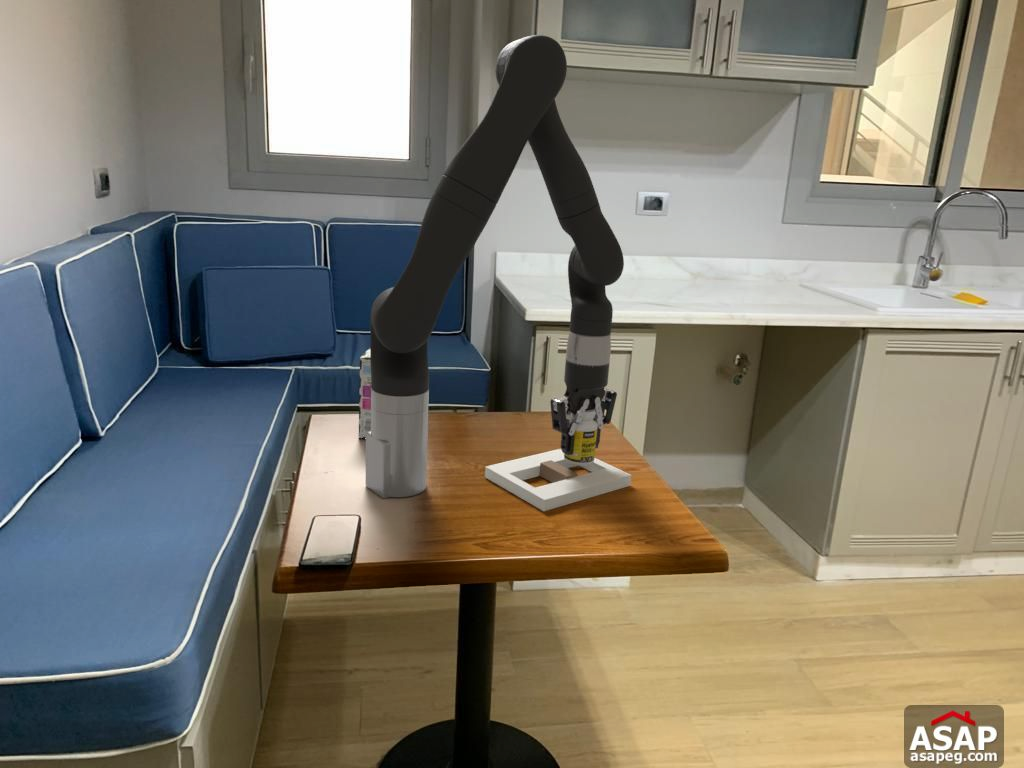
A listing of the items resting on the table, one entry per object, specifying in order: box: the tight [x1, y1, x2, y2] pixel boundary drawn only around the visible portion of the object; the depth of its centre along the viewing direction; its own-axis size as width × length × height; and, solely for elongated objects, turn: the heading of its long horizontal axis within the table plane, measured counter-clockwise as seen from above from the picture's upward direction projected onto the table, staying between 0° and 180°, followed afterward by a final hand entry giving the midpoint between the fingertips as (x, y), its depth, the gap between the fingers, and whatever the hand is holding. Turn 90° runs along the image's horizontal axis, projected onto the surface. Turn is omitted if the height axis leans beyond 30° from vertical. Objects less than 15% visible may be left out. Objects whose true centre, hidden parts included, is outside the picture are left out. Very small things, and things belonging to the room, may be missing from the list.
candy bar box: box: [358, 347, 371, 439], centre depth 153 cm, size 11×5×16 cm, turn 178°
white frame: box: [484, 448, 632, 512], centre depth 136 cm, size 20×16×2 cm
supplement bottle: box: [564, 409, 598, 467], centre depth 137 cm, size 5×5×10 cm
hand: (580, 450), depth 138 cm, fingers closed on supplement bottle, 5 cm apart
